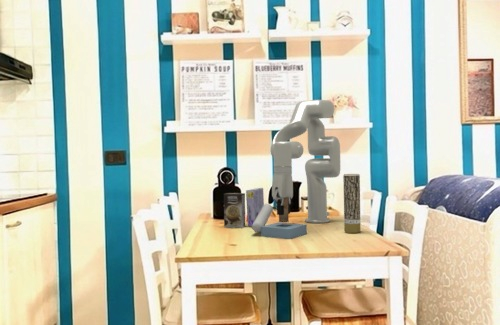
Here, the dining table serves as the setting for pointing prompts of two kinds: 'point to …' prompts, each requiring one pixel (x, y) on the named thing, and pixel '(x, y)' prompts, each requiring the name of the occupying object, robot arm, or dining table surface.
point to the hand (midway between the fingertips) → (283, 213)
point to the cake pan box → (254, 204)
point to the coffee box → (234, 210)
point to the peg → (284, 217)
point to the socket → (284, 230)
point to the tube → (262, 217)
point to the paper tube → (351, 203)
